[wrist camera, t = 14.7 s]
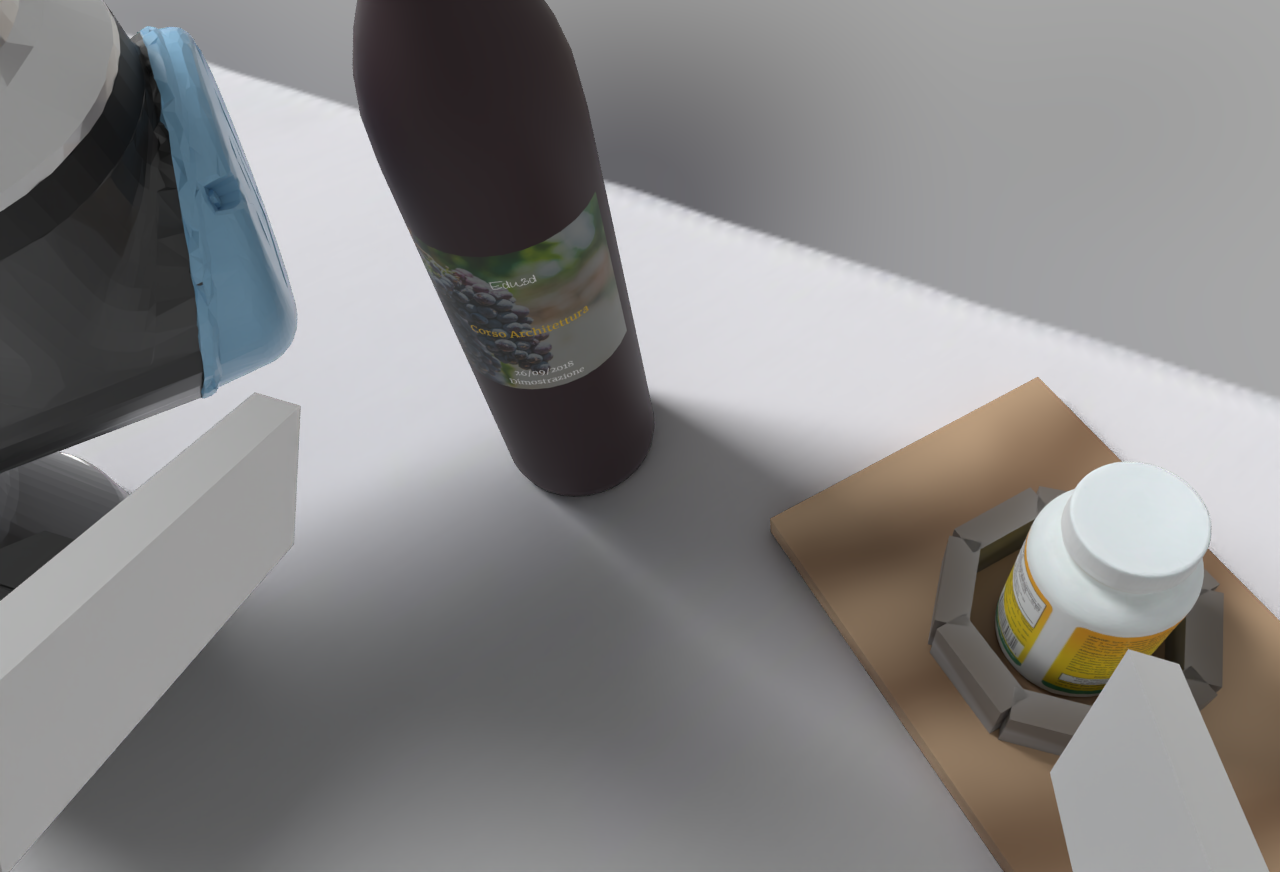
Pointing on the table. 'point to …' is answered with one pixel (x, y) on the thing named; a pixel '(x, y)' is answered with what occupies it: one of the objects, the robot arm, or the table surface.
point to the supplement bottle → (1103, 576)
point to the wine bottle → (511, 224)
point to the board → (965, 621)
